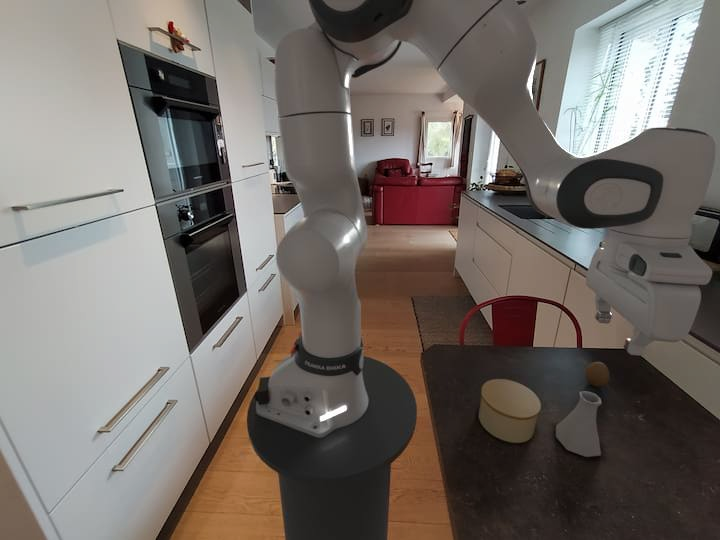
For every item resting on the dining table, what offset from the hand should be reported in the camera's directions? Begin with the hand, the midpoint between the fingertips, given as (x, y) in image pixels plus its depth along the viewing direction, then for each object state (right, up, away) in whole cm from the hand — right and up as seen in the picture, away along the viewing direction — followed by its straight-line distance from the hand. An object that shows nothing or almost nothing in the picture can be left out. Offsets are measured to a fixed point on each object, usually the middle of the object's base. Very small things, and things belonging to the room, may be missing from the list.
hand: (615, 335), depth 51 cm
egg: (+13, -16, +23) cm, 31 cm away
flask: (0, -21, +9) cm, 23 cm away
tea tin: (-12, -20, +13) cm, 26 cm away
